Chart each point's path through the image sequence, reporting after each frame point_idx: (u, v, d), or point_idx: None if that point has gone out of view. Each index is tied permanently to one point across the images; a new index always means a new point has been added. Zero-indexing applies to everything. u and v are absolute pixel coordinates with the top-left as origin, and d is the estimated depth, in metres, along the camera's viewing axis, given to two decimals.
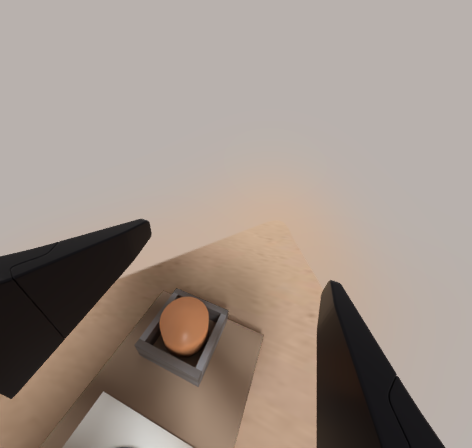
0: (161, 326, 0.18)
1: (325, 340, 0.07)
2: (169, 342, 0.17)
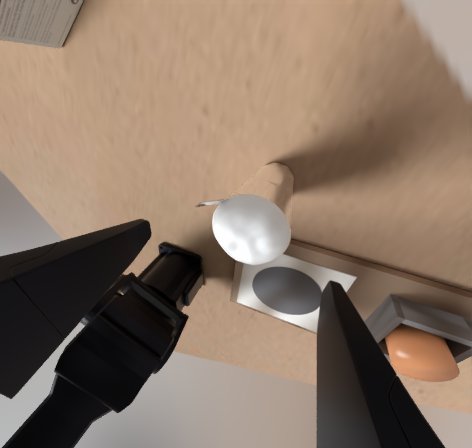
0: (414, 353, 0.16)
1: (325, 340, 0.07)
2: (394, 353, 0.18)
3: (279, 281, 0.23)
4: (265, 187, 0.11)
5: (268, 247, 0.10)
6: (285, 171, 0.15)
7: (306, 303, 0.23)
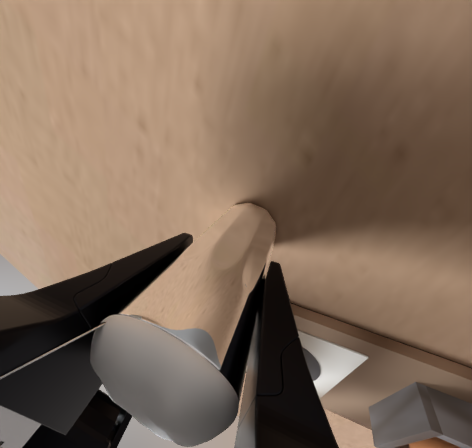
0: None
1: (257, 314, 0.08)
2: None
3: None
4: (198, 285, 0.06)
5: (182, 445, 0.05)
6: (259, 223, 0.10)
7: None
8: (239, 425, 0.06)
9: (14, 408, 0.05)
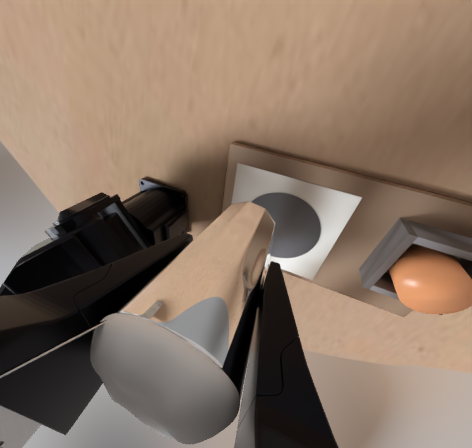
0: (427, 274, 0.14)
1: (257, 314, 0.08)
2: (402, 280, 0.15)
3: (272, 213, 0.20)
4: (198, 283, 0.06)
5: None
6: (258, 221, 0.10)
7: (302, 240, 0.20)
8: (239, 425, 0.06)
9: (14, 408, 0.05)
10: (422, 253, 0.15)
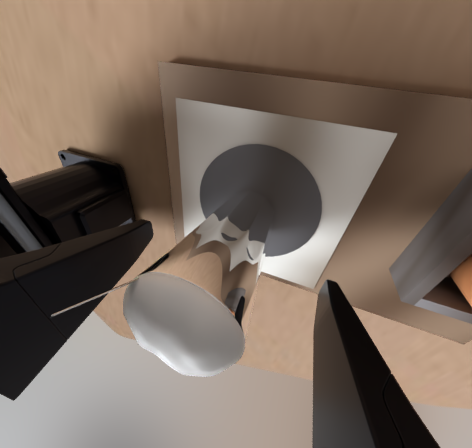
0: None
1: (321, 339, 0.07)
2: None
3: (242, 183, 0.12)
4: (211, 252, 0.07)
5: (201, 371, 0.06)
6: (259, 207, 0.11)
7: (292, 226, 0.13)
8: None
9: None
10: None
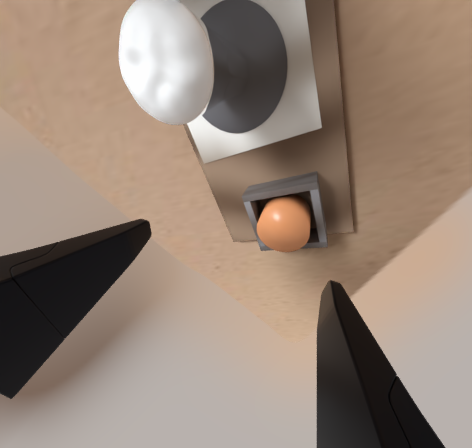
0: (296, 215, 0.16)
1: (325, 340, 0.07)
2: (277, 208, 0.16)
3: (247, 48, 0.14)
4: (221, 55, 0.09)
5: (168, 102, 0.09)
6: (243, 77, 0.14)
7: (238, 115, 0.16)
8: None
9: None
10: (302, 204, 0.17)
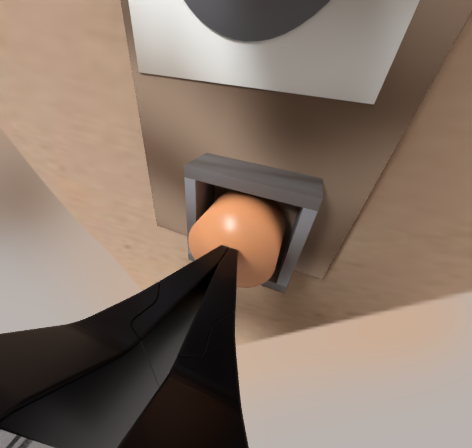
0: (264, 241, 0.08)
1: None
2: (238, 215, 0.08)
3: None
4: None
5: None
6: None
7: None
8: None
9: None
10: (279, 221, 0.10)
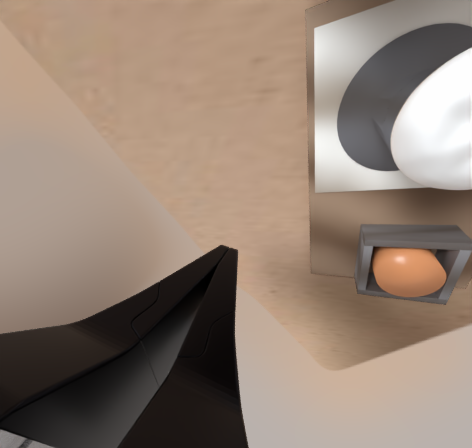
0: (437, 266, 0.15)
1: None
2: (416, 255, 0.15)
3: None
4: None
5: None
6: None
7: None
8: None
9: None
10: (431, 251, 0.16)
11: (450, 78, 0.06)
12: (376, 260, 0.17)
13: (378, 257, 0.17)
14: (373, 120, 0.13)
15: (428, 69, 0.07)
